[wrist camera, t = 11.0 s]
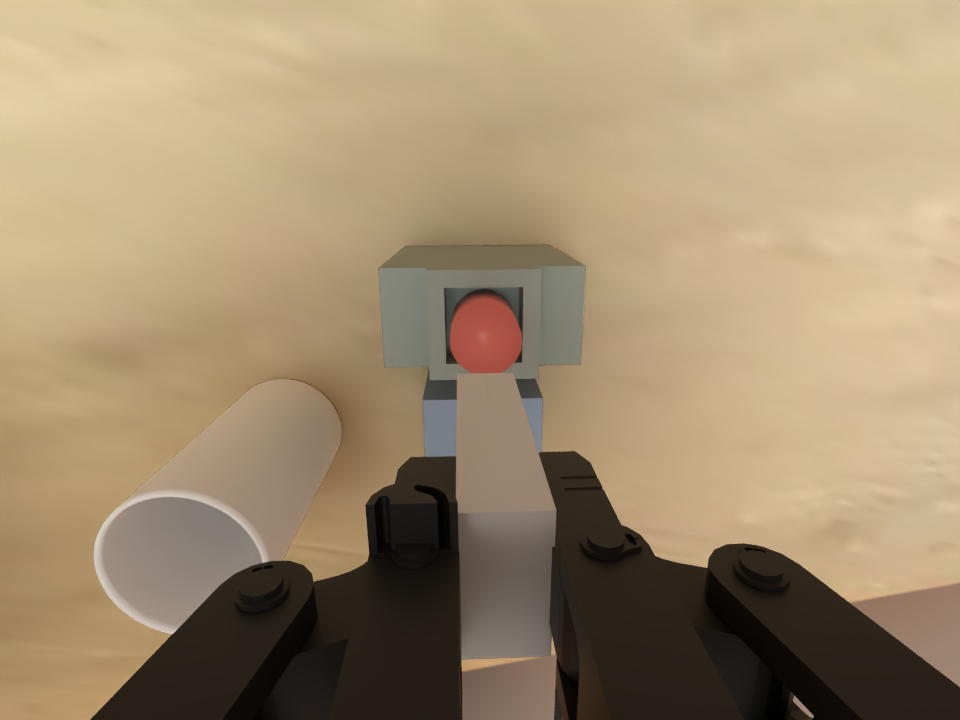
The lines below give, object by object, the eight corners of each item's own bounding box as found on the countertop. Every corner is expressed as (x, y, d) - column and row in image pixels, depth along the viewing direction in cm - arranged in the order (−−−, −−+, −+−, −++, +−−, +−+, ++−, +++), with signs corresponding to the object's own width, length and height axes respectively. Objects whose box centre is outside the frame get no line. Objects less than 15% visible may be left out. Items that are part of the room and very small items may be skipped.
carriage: (437, 434, 41) (427, 514, 30) (434, 346, 39) (422, 400, 28) (520, 432, 41) (539, 512, 31) (522, 344, 39) (542, 398, 28)
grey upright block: (408, 318, 39) (379, 381, 25) (404, 244, 37) (371, 271, 24) (557, 316, 39) (605, 377, 26) (559, 243, 37) (612, 268, 24)
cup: (357, 403, 40) (291, 529, 25) (320, 491, 42) (239, 657, 27) (251, 361, 39) (115, 466, 24) (219, 454, 41) (75, 605, 26)
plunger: (452, 350, 26) (450, 376, 22) (451, 289, 25) (448, 306, 22) (513, 349, 26) (521, 375, 23) (514, 288, 26) (523, 305, 22)
